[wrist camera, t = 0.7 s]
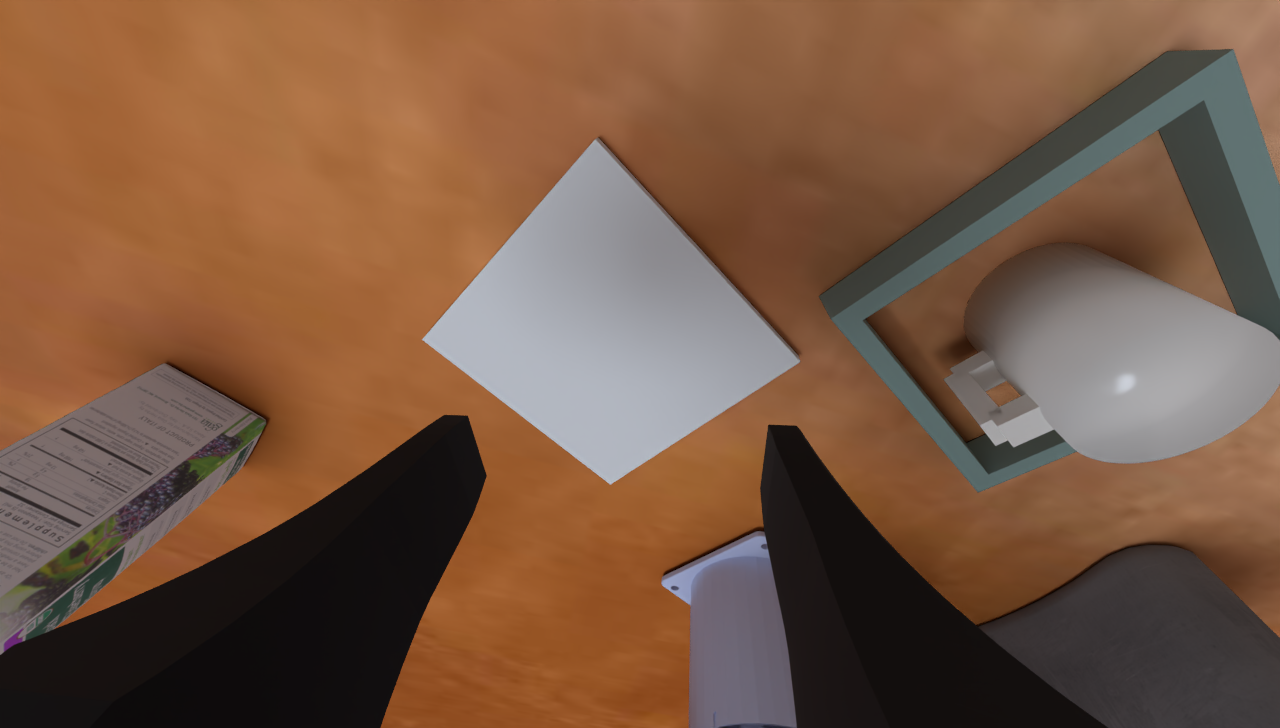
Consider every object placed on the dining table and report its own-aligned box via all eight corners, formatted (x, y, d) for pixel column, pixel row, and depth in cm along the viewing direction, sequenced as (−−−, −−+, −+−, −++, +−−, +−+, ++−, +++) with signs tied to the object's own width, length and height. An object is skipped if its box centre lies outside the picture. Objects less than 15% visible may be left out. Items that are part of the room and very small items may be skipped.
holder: (1271, 317, 17) (1333, 344, 16) (957, 460, 22) (978, 492, 21) (1167, 51, 14) (1233, 49, 12) (818, 296, 19) (830, 319, 17)
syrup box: (245, 469, 29) (-89, 765, 16) (144, 415, 27) (-311, 701, 15) (271, 418, 26) (-105, 728, 14) (160, 355, 24) (-378, 644, 12)
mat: (798, 355, 20) (800, 361, 20) (611, 477, 26) (610, 484, 25) (598, 137, 16) (595, 138, 16) (427, 334, 22) (421, 339, 21)
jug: (1082, 213, 16) (1256, 279, 11) (1134, 310, 18) (1306, 407, 13) (901, 325, 19) (973, 417, 14) (959, 399, 21) (1043, 507, 16)
